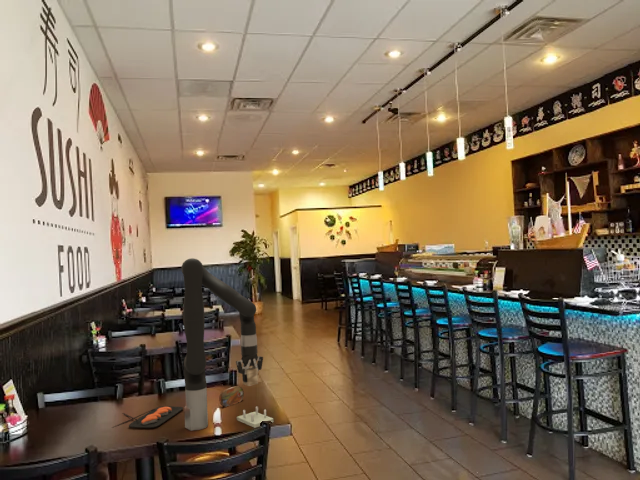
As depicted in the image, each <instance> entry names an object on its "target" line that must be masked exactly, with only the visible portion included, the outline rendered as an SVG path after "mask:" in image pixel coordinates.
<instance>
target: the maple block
mask: <svg viewBox="0 0 640 480" xmlns="http://www.w3.org/2000/svg"><path fill="white" fill-rule="evenodd" d="M242 384H243V385H245V386H247V387H251V386H255V385H259V371H258V369H257V368H252V366H250V367H249V369H248V370H247V382H246V383H245V382H244V381H243V380H242Z"/></svg>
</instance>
